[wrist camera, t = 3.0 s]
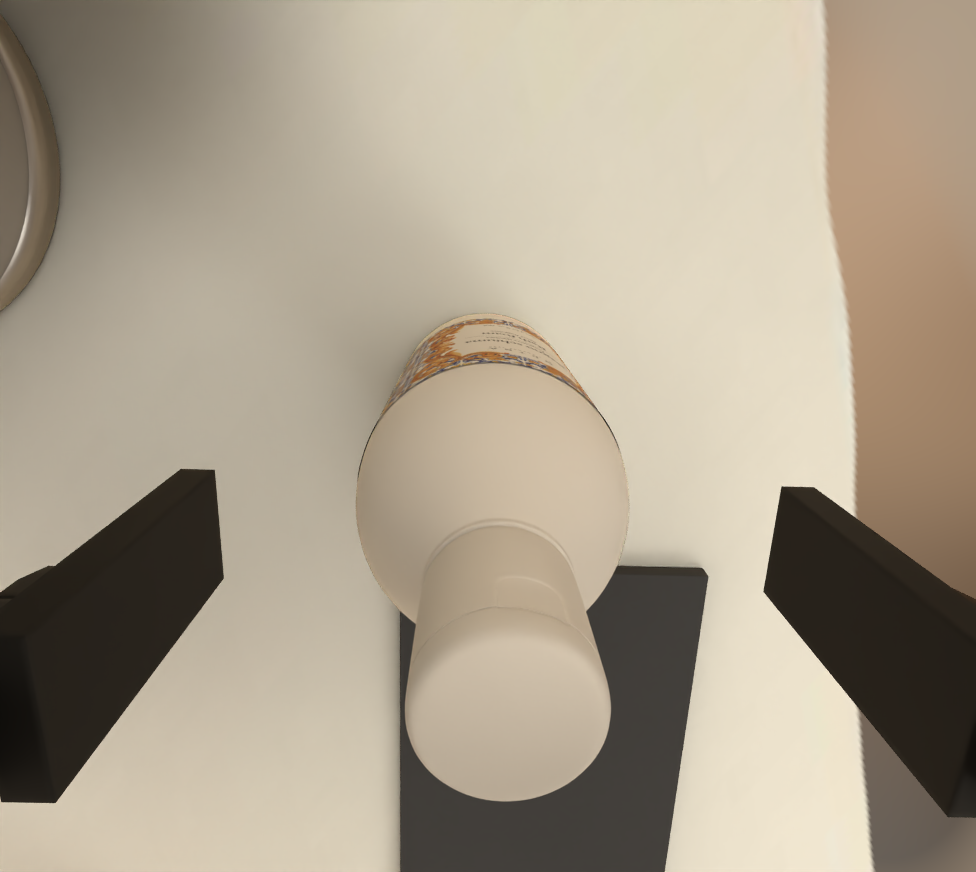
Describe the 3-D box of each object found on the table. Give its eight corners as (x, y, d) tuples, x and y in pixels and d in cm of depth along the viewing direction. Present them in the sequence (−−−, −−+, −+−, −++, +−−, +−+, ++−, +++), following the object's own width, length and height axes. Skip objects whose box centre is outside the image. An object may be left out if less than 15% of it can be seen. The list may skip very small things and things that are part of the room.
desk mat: (401, 560, 30) (400, 569, 30) (703, 567, 31) (708, 576, 30) (402, 891, 36) (400, 905, 35) (655, 893, 37) (659, 907, 36)
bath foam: (586, 337, 28) (844, 564, 9) (538, 486, 30) (659, 948, 10) (425, 290, 27) (311, 424, 8) (386, 447, 29) (216, 863, 10)
